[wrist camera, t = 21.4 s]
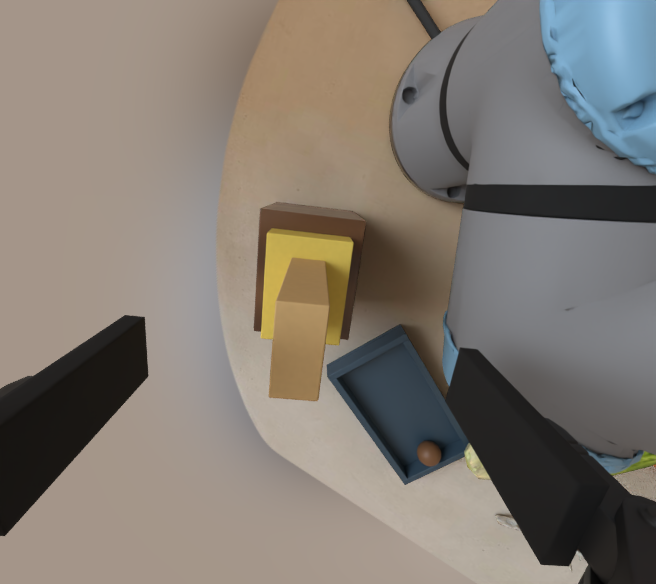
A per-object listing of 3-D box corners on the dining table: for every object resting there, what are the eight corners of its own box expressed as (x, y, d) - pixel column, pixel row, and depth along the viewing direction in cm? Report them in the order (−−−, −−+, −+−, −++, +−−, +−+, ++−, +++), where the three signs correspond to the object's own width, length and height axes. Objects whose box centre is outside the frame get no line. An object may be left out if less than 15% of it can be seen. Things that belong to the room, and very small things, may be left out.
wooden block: (340, 300, 37) (348, 339, 27) (270, 293, 36) (253, 331, 27) (352, 211, 34) (366, 220, 24) (276, 202, 33) (259, 208, 24)
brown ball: (425, 475, 40) (421, 461, 43) (447, 466, 40) (442, 453, 43) (414, 453, 40) (411, 441, 43) (437, 444, 40) (432, 432, 43)
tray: (326, 364, 39) (327, 376, 37) (400, 323, 38) (405, 333, 36) (400, 468, 45) (404, 485, 42) (466, 436, 44) (475, 451, 41)
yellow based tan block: (337, 331, 27) (350, 429, 16) (265, 325, 27) (229, 420, 16) (350, 237, 25) (376, 277, 14) (271, 228, 24) (234, 262, 13)
